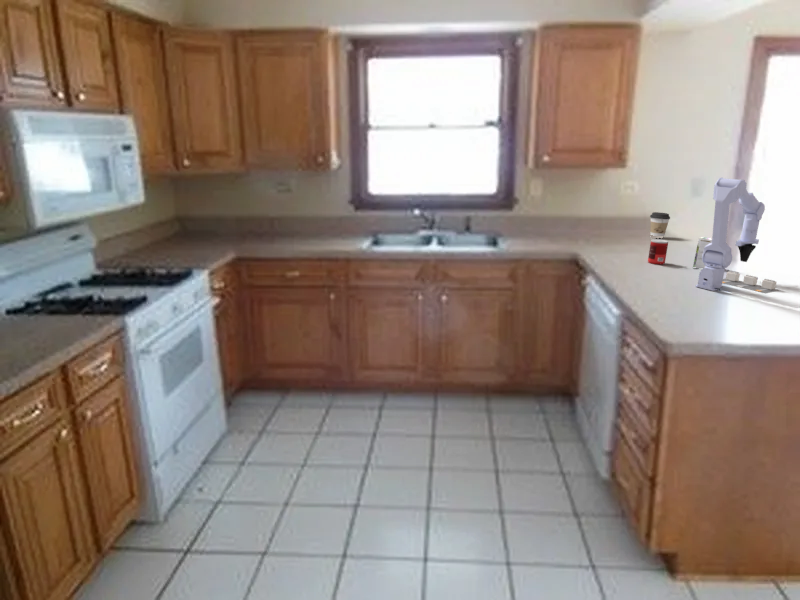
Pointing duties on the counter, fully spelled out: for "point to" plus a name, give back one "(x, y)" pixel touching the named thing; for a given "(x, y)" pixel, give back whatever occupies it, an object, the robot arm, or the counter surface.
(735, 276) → the block
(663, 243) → the canned food
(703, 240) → the syrup box
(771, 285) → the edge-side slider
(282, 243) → the counter surface
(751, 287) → the switch panel
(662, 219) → the coffee cup
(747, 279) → the middle slider
